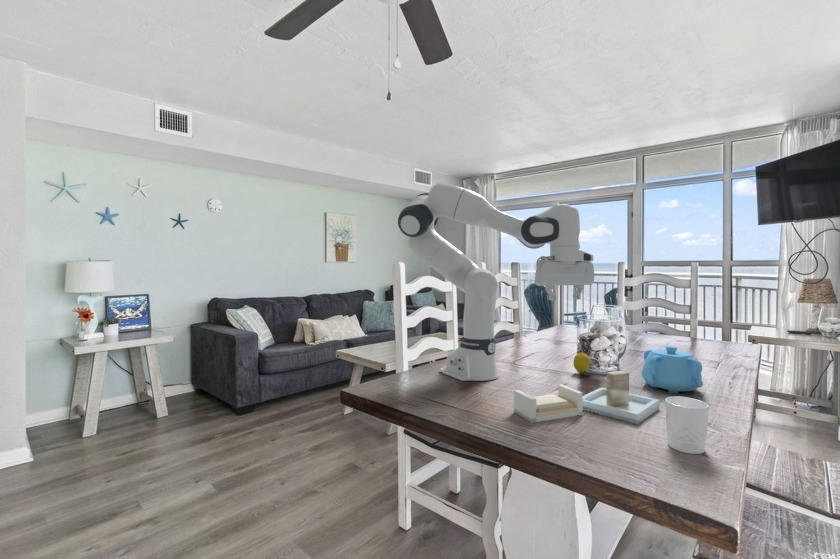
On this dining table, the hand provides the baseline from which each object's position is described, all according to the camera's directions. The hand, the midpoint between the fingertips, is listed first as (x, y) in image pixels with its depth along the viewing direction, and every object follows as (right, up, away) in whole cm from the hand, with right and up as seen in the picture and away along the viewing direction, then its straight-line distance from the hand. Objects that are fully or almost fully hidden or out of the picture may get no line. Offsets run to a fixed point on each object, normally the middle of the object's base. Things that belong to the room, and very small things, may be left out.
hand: (564, 299), depth 127 cm
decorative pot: (+36, -29, +3) cm, 46 cm away
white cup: (+12, -30, -39) cm, 51 cm away
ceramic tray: (+9, -30, -15) cm, 34 cm away
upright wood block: (+9, -29, -15) cm, 34 cm away
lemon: (+14, -29, +21) cm, 38 cm away
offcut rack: (-11, -30, -19) cm, 37 cm away
